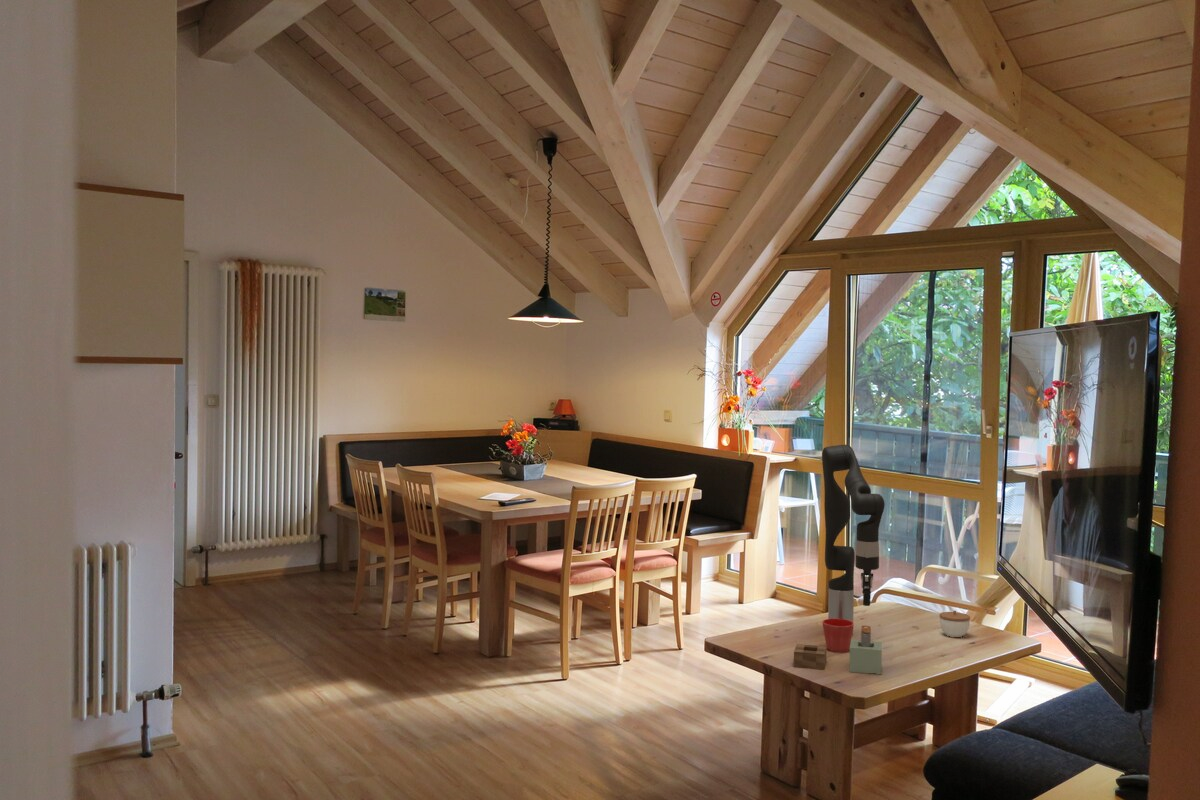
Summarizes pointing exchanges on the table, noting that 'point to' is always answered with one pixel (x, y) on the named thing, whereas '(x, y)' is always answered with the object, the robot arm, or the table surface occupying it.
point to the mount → (810, 656)
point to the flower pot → (838, 634)
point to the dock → (865, 657)
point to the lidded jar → (954, 623)
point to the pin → (865, 636)
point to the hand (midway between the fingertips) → (866, 602)
